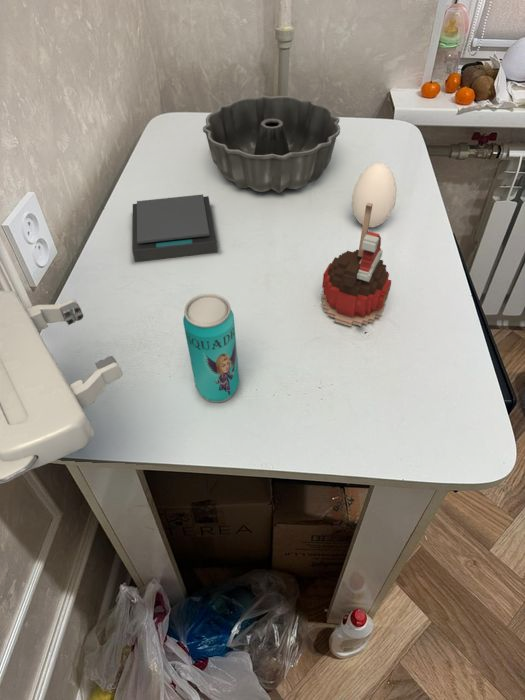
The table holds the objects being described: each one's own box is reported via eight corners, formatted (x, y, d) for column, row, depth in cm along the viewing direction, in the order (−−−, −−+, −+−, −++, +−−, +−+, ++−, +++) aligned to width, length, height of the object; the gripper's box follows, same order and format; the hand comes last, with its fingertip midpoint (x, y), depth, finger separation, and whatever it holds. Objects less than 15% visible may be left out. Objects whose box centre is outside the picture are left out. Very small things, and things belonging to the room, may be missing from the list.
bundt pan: (231, 133, 114) (228, 87, 107) (345, 147, 109) (351, 100, 102) (189, 195, 98) (182, 146, 90) (322, 215, 93) (326, 165, 85)
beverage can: (214, 414, 64) (202, 335, 53) (188, 387, 67) (171, 307, 56) (248, 390, 67) (243, 310, 55) (221, 365, 70) (212, 284, 58)
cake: (335, 277, 81) (348, 176, 68) (391, 293, 79) (416, 191, 65) (310, 320, 75) (319, 218, 62) (370, 339, 72) (393, 237, 59)
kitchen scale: (135, 262, 85) (130, 245, 82) (135, 215, 94) (131, 198, 91) (217, 252, 86) (215, 235, 83) (209, 207, 95) (207, 190, 92)
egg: (344, 233, 89) (352, 172, 80) (353, 210, 94) (361, 150, 85) (386, 240, 88) (399, 179, 79) (392, 216, 92) (405, 156, 83)
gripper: (-36, 474, 36) (138, 384, 41) (-92, 312, 47) (51, 257, 52) (0, 510, 41) (152, 425, 46) (-58, 355, 52) (69, 301, 57)
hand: (98, 335), depth 49 cm, fingers open, 8 cm apart
